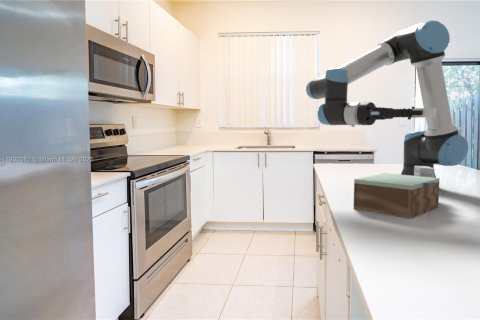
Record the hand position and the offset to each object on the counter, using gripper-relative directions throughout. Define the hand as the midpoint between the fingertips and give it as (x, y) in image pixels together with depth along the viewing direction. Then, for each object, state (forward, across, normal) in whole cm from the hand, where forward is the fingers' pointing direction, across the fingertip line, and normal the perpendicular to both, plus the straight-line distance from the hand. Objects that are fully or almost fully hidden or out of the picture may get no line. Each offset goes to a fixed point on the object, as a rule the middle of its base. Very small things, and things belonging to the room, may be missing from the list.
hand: (435, 112), depth 116 cm
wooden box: (-10, 0, -30) cm, 32 cm away
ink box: (-9, -19, -30) cm, 37 cm away
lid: (-10, 0, -22) cm, 24 cm away
